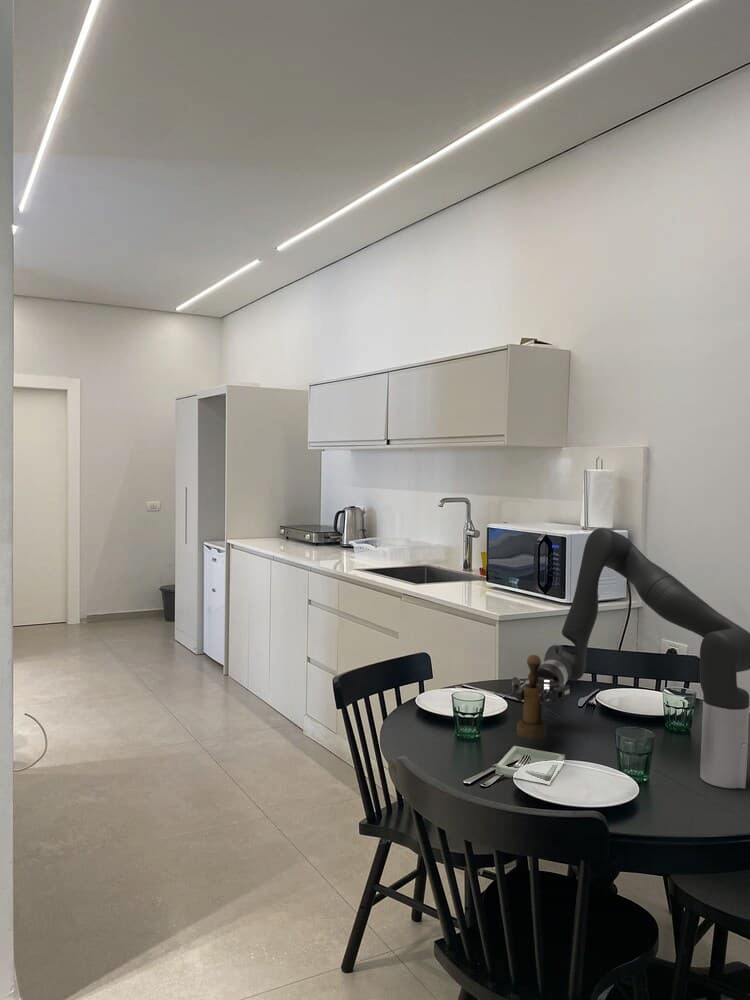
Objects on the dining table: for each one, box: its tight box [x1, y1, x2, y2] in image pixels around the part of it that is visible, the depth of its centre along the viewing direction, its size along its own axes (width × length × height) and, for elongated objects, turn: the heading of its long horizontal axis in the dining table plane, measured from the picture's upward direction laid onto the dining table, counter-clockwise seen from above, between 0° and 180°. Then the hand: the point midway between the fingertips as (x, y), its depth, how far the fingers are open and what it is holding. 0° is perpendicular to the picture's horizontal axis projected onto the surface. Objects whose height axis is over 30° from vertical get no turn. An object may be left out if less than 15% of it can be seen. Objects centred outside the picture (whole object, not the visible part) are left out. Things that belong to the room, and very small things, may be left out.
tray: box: [495, 745, 566, 781], centre depth 182 cm, size 12×14×2 cm
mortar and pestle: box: [516, 654, 548, 740], centre depth 181 cm, size 7×6×18 cm
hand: (529, 698), depth 178 cm, fingers closed on mortar and pestle, 4 cm apart
